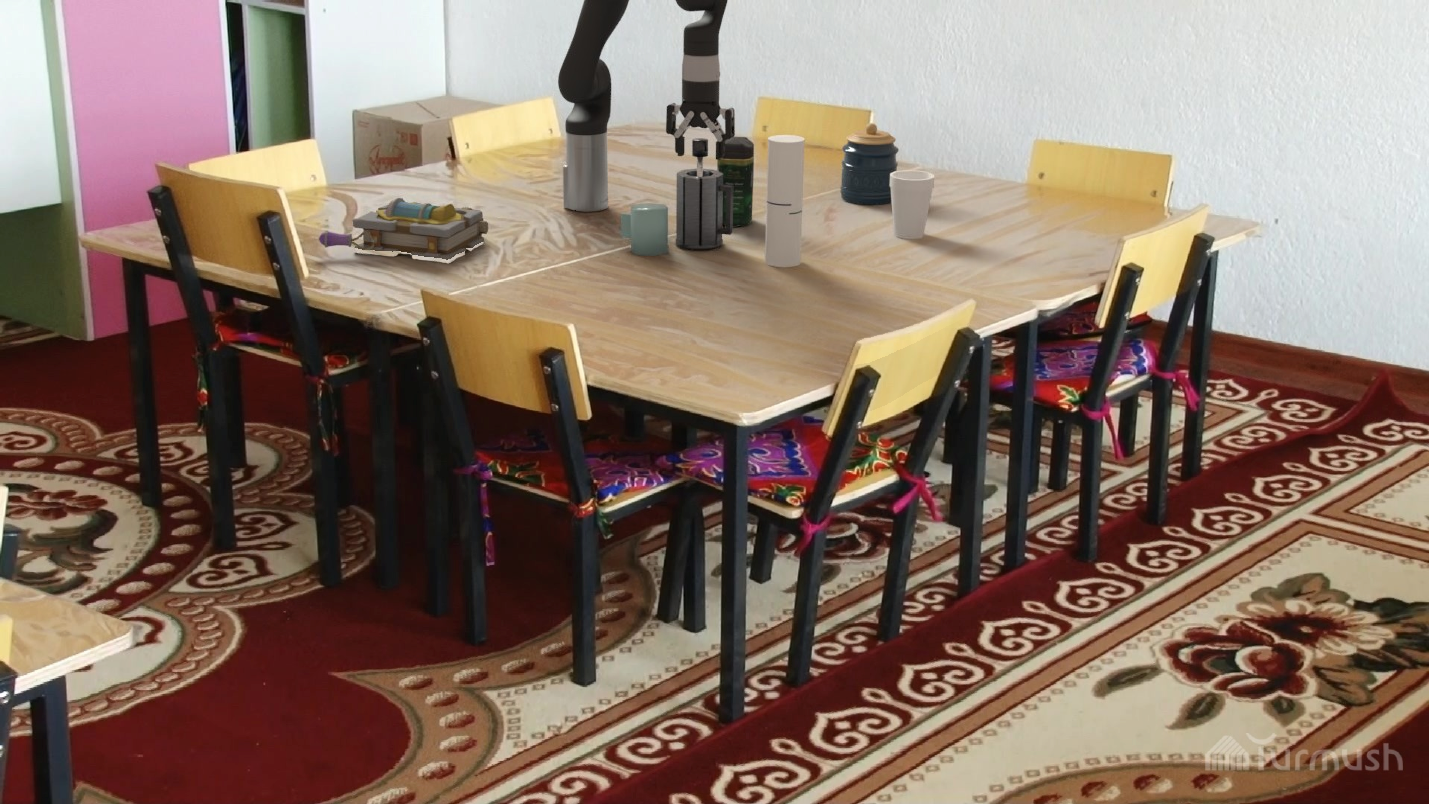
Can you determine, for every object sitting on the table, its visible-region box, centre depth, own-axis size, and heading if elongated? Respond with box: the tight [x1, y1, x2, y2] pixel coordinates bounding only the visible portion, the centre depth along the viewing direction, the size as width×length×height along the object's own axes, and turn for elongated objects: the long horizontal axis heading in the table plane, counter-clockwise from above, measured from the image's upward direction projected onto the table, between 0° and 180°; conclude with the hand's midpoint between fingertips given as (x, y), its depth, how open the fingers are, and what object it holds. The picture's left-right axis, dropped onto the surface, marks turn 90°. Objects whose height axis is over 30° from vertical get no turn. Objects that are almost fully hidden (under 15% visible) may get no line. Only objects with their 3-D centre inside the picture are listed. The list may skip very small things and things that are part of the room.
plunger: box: [691, 137, 709, 177], centre depth 323 cm, size 4×4×18 cm
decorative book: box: [318, 197, 489, 260], centre depth 320 cm, size 25×27×10 cm
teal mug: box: [620, 202, 669, 257], centre depth 322 cm, size 10×8×9 cm
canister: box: [840, 122, 900, 206], centre depth 363 cm, size 13×13×18 cm
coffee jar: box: [716, 136, 755, 228], centre depth 342 cm, size 10×8×19 cm
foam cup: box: [890, 169, 935, 240], centre depth 335 cm, size 10×9×13 cm
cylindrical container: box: [764, 134, 806, 268], centre depth 312 cm, size 7×7×25 cm
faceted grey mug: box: [675, 168, 734, 252], centre depth 325 cm, size 12×10×15 cm
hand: (700, 157), depth 321 cm, fingers open, 8 cm apart
